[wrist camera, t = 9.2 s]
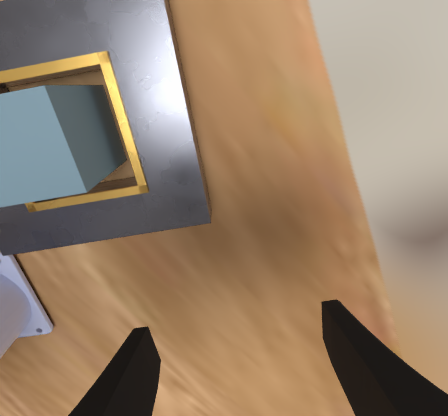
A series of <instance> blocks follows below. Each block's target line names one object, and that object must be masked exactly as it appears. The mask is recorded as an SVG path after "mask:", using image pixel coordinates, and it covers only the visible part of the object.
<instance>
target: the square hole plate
mask: <svg viewBox="0 0 448 416" xmlns="http://www.w3.org/2000/svg"><path fill="white" fill-rule="evenodd" d="M100 69H102V72H103V75H104V78H105V81H106V85H107V88H108V91H109V94H110V97H111V101H112V104H113V107H114V110H115V113H116V117H117V120H118V123H119V126H120V130H121V133H122V136H123V139H124V142H125V146H126V149H127V152H128V155H129V158H130V162H131V165H132V168H133V171H134V174H135V177H132V178H126V179H120V180H114V181H109V182H103V183H98V184H97V185H96V186H94V187H93V188H92V189H91V190H89V191H88V192H87V193H81V194H75V195H70V196H64V197H58V198H52V199H46V200H41V201H35V202H29V203H23V204H17V205H12V206H6V207H0V252H1V253H2V255H3V256H7V255H13V254H19V253H26V252H32V251H38V250H44V249H51V248H57V247H63V246H69V245H76V244H82V243H88V242H94V241H101V240H107V239H113V238H119V237H126V236H132V235H138V234H144V233H150V232H157V231H163V230H169V229H175V228H182V227H188V226H194V225H200V224H207V223H211V211H212V210H211V205H210V200H209V195H208V190H207V185H206V180H205V176H204V171H203V166H202V161H201V156H200V151H199V146H198V142H197V137H196V132H195V127H194V122H193V117H192V112H191V108H190V103H189V98H188V93H187V88H186V83H185V78H184V74H183V69H182V64H181V59H180V54H179V49H178V44H177V40H176V35H175V30H174V25H173V20H172V15H171V10H170V6H169V1H168V0H4V1H0V94H3V93H8V92H9V91H8V89H7V87H12V86H17V85H22V84H27V83H32V82H38V81H43V80H48V79H53V78H58V77H64V76H69V75H74V74H79V73H84V72H90V71H95V70H100Z"/></svg>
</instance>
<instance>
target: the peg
mask: <svg viewBox="0 0 448 416" xmlns="http://www.w3.org/2000/svg"><path fill="white" fill-rule="evenodd" d="M126 160H127V159H126V156H125V153H124V150H123V147H122V143H121V140H120V137H119V134H118V131H117V128H116V125H115V122H114V118H113V115H112V112H111V109H110V106H109V103H108V100H107V97H106V93H105V90H104V87H103V85H44V86H39V87H34V88H28V89H23V90H18V91H13V92H8V93H3V94H0V207H6V206H12V205H17V204H23V203H29V202H35V201H41V200H46V199H52V198H58V197H64V196H70V195H75V194H81V193H87V192H88V191H89V190H91V189H92V188H93V187H94V186H96V185H97V184H98V183H99V182H100V181H102V180H103V179H104V178H105V177H107V176H108V175H109V174H110V173H111V172H113V171H114V170H115V169H116V168H118V167H119V166H120V165H121V164H122V163H124V162H125V161H126Z"/></svg>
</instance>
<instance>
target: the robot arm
mask: <svg viewBox="0 0 448 416" xmlns="http://www.w3.org/2000/svg"><path fill="white" fill-rule="evenodd" d="M322 328H323V340H324V343H325V346H326V349H327V352H328V355H329V358H330V361H331V363H332V366H333V368H334V370H335V372H336V375H337V377H338V379H339V381H340V383H341V386H342V388H343V390H344V392H345V394H346V396H347V398H348V401H349V403H350V405H351V407H352V409H353V411H354V414H355V416H448V394H446V393H445V392H444V391H442V390H441V389H439V388H438V387H437V386H435V385H434V384H433V383H431V382H430V381H429V380H427V379H426V378H424V377H423V376H422V375H421V374H419V373H418V372H417V371H415V370H414V369H413V368H412V367H410V366H409V365H408V364H407V363H405V362H404V361H403V360H402V359H401V358H399V357H398V356H397V355H396V354H395V353H393V352H392V351H391V350H390V349H389V348H388V347H386V346H385V345H384V344H383V343H382V342H381V341H380V340H379V339H378V338H376V337H375V336H374V335H373V334H372V333H371V332H370V331H369V330H368V329H367V328H366V327H365V326H363V325H362V324H361V323H360V322H359V321H358V320H357V319H356V318H355V317H354V316H353V315H352V314H351V313H350V312H349V311H348V310H347V309H346V308H345V307H344V306H343V305H342V303H341V302H340V301H338V300H330V301H323V302H322ZM52 330H53V325H52V323H51V321H50V319H49V318H48V316H47V314H46V312H45V311H44V309H43V307H42V305H41V304H40V302H39V300H38V298H37V296H36V295H35V293H34V291H33V289H32V288H31V286H30V284H29V282H28V281H27V279H26V277H25V275H24V274H23V272H22V270H21V268H20V266H19V265H18V263H17V261H16V259H15V258H14V256H13V255H7V256H3V255H2V253H1V252H0V359H1V357H2V356H3V355H4V353H5V352H6V351H7V350H8V348H9V347H10V346H11V345H12V343H13V342H14V341H15V340H16V338H21V337H28V336H35V335H41V334H48V333H50V332H51V331H52ZM160 363H161V359H160V357H159V354H158V351H157V349H156V346H155V343H154V341H153V338H152V336H151V333H150V330H149V328H148V327H141V328H134V329H133V330H132V332H131V333H130V335H129V336H128V337H127V339H126V340H125V342H124V343H123V344H122V346H121V347H120V349H119V350H118V352H117V353H116V354H115V356H114V357H113V359H112V360H111V361H110V363H109V364H108V366H107V367H106V368H105V370H104V371H103V372H102V374H101V375H100V376H99V378H98V379H97V380H96V382H95V383H94V384H93V386H92V387H91V388H90V389H89V391H88V392H87V393H86V395H85V396H84V397H83V398H82V400H81V401H80V402H79V403H78V405H77V406H76V407H75V408H74V409H73V411H72V412H71V413H70V414H69V415H68V416H152V412H153V407H154V403H155V398H156V394H157V389H158V382H159V373H160Z"/></svg>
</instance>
